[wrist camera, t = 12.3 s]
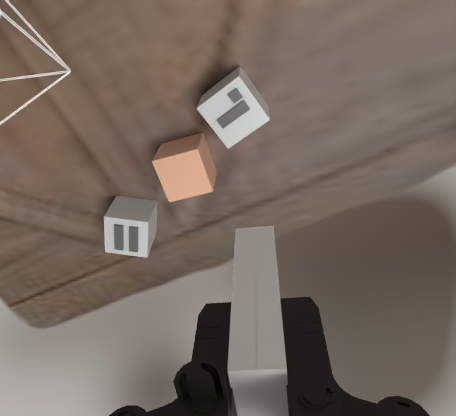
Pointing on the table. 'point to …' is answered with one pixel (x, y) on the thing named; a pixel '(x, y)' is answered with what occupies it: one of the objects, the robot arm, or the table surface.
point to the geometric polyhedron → (41, 48)
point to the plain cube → (185, 167)
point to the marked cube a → (130, 226)
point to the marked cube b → (234, 107)
